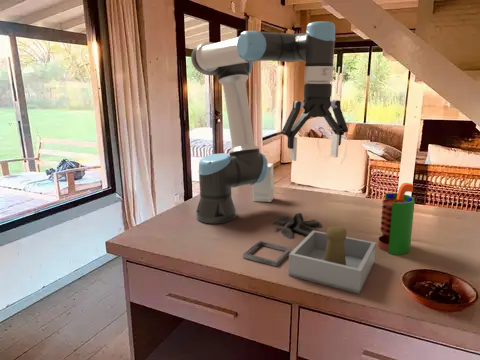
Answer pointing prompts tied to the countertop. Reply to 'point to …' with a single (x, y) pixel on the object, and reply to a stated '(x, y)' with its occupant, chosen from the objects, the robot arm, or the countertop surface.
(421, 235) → the countertop surface
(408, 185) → the motor
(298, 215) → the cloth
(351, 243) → the bin
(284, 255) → the collar
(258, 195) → the skincare box
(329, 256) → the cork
